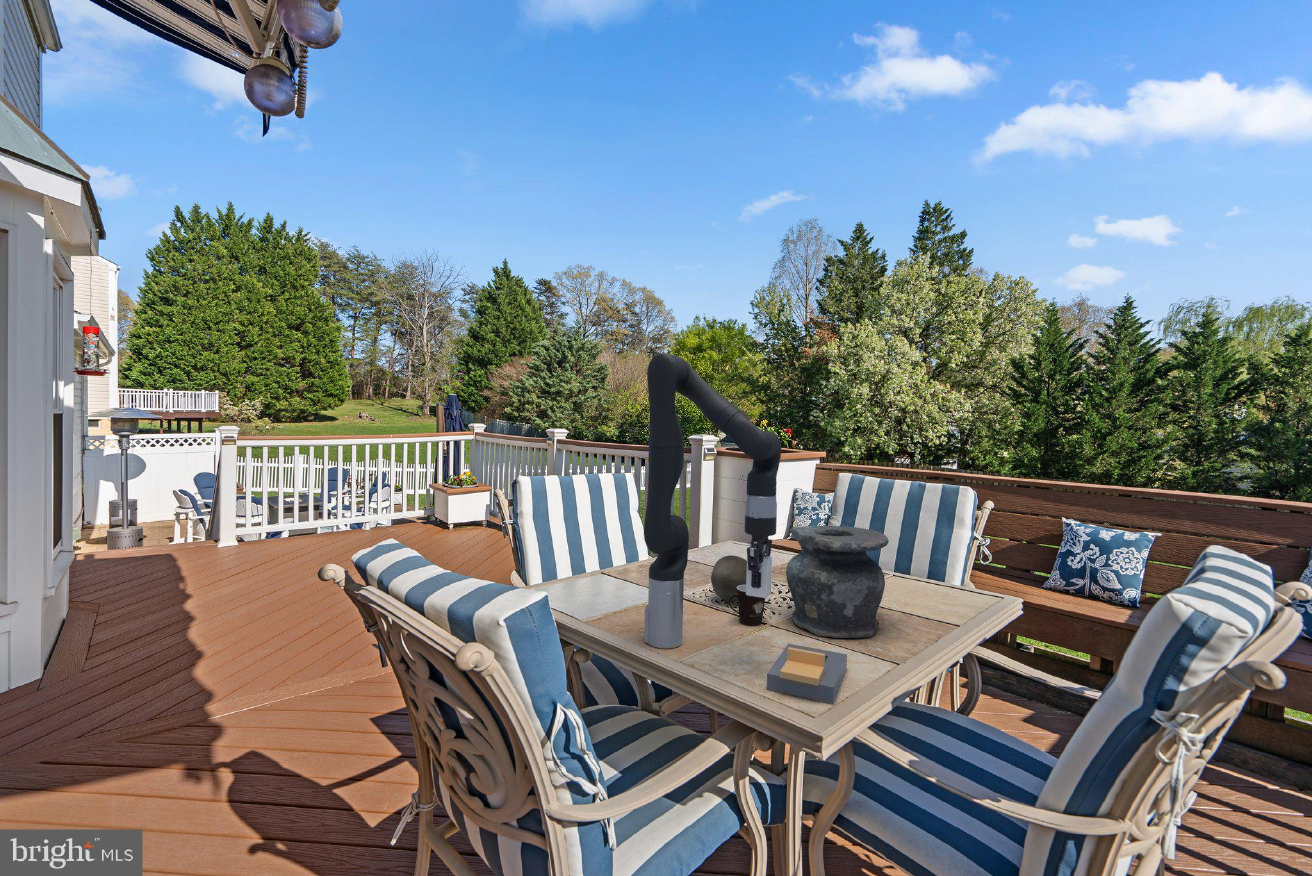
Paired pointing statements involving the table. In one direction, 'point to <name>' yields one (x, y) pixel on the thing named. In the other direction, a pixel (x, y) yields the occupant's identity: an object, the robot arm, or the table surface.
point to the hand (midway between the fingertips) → (758, 585)
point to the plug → (765, 580)
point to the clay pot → (836, 580)
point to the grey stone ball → (728, 576)
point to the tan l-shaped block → (803, 666)
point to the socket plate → (822, 692)
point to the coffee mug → (748, 607)
